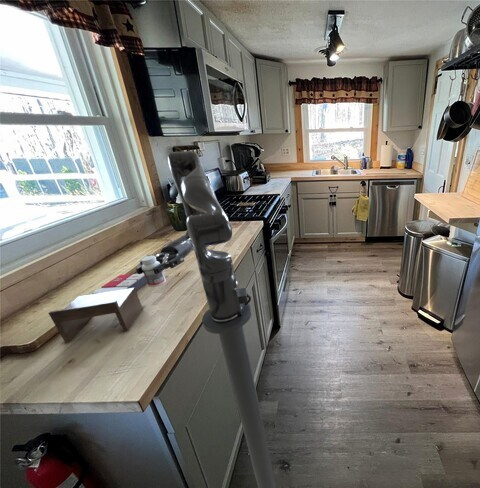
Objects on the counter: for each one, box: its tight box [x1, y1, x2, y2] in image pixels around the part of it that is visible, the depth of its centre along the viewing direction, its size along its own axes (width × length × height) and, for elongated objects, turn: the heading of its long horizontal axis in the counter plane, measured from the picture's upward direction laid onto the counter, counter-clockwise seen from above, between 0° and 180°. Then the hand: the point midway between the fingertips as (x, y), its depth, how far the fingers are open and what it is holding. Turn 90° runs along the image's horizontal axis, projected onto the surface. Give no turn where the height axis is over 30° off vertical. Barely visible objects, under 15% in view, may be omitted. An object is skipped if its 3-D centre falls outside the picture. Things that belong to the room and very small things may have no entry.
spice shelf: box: [48, 288, 143, 343], centre depth 80 cm, size 16×12×10 cm
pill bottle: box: [140, 255, 167, 288], centre depth 87 cm, size 5×5×10 cm
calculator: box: [91, 273, 148, 294], centre depth 98 cm, size 11×4×15 cm
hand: (146, 271), depth 84 cm, fingers closed on pill bottle, 5 cm apart
